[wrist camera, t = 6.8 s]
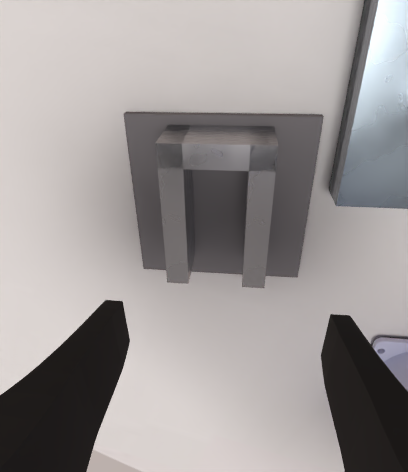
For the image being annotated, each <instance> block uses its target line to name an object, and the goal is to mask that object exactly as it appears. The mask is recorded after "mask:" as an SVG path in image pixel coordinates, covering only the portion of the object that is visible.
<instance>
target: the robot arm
mask: <svg viewBox="0 0 408 472" xmlns="http://www.w3.org/2000/svg"><path fill="white" fill-rule="evenodd" d="M129 342H130V339H129V334H128V328H127V323H126V318H125V312H124V307H123V302H122V301H111V300H106V301H105V302H103V303H102V304H101V305H100V306H99V307H98V308H97V310H96V311H95V312H94V313H93V314H92V315H91V316H90V317H89V318H88V319H87V320H86V321H85V322H84V323H83V324H82V325H81V326H80V327H79V328H78V329H77V330H76V331H75V332H74V333H73V334H72V335H71V336H70V337H69V338H68V339H67V340H66V341H65V342H64V343H63V344H62V345H61V346H60V347H59V348H58V349H56V350H55V351H54V352H53V353H52V354H51V355H50V356H49V357H48V358H46V359H45V360H44V361H43V362H42V363H41V364H40V365H39V366H37V367H36V368H35V369H34V370H33V371H31V372H30V373H29V374H28V375H27V376H25V377H24V378H23V379H21V380H20V381H19V382H18V383H16V384H15V385H14V386H12V387H11V388H10V389H8V390H7V391H6V392H4V393H3V394H1V395H0V472H86V471H87V467H88V464H89V460H90V457H91V453H92V450H93V446H94V443H95V440H96V437H97V434H98V431H99V428H100V426H101V423H102V421H103V418H104V416H105V413H106V411H107V408H108V405H109V403H110V400H111V398H112V395H113V393H114V390H115V388H116V385H117V382H118V380H119V377H120V375H121V372H122V369H123V366H124V362H125V359H126V355H127V351H128V347H129ZM321 360H322V368H323V376H324V384H325V388H326V393H327V397H328V401H329V405H330V409H331V413H332V417H333V421H334V426H335V430H336V434H337V438H338V442H339V446H340V450H341V454H342V459H343V464H344V469H345V472H408V339H398V338H384V337H382V338H377V339H376V340H375V341H374V343H373V346H371V345H370V343H369V342H368V340H367V339H366V338H365V336H364V335H363V333H362V332H361V331H360V329H359V328H358V326H357V325H356V323H355V322H354V321H353V319H352V318H351V317H350V316H348V315H333V314H331V315H330V319H329V323H328V327H327V332H326V336H325V340H324V345H323V349H322V353H321Z"/></svg>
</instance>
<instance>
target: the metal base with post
mask: <svg viewBox="0 0 408 472" xmlns="http://www.w3.org/2000/svg"><path fill="white" fill-rule="evenodd" d="M329 191H330V193H331V195H332V198H333V200H334V202H335V205H336V206H351V207H378V208H404V209H408V0H365V2H364V7H363V12H362V18H361V23H360V28H359V33H358V39H357V44H356V49H355V54H354V60H353V65H352V70H351V75H350V81H349V86H348V91H347V96H346V102H345V107H344V112H343V117H342V123H341V128H340V133H339V138H338V144H337V149H336V154H335V159H334V165H333V170H332V175H331V180H330V186H329Z"/></svg>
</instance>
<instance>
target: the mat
mask: <svg viewBox="0 0 408 472" xmlns="http://www.w3.org/2000/svg"><path fill="white" fill-rule="evenodd" d="M124 120H125V128H126V135H127V143H128V151H129V159H130V166H131V174H132V182H133V190H134V197H135V205H136V213H137V221H138V228H139V236H140V244H141V251H142V259H143V267H144V269H158V270H166V260H165V248H164V237H163V225H162V214H161V202H160V191H159V179H158V168H157V156H156V145H155V143H156V141H157V140H158V138H159V137H160V136H161V134H162V133H163V131H164V130H165V128H166V127H167V125H227V126H274V127H275V132H276V136H277V141H278V155H277V165H276V175H275V185H274V195H273V205H272V215H271V224H270V234H269V244H268V254H267V264H266V274H265V276H281V277H298V271H299V265H300V259H301V252H302V246H303V240H304V234H305V228H306V222H307V215H308V209H309V203H310V197H311V191H312V185H313V179H314V172H315V166H316V160H317V154H318V148H319V142H320V135H321V129H322V123H323V115H301V114H228V113H155V112H126V113H124ZM247 175H248V171H226V170H193V196H194V228H195V256H194V261H193V265H192V270H191V271H193V272H211V273H228V274H243V247H244V229H245V211H246V193H247Z"/></svg>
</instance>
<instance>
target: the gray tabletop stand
mask: <svg viewBox="0 0 408 472" xmlns="http://www.w3.org/2000/svg"><path fill="white" fill-rule="evenodd" d="M155 145H156V156H157V168H158V179H159V191H160V202H161V214H162V225H163V237H164V248H165V260H166V271H167V282H171V283H188V284H189V279H190V275H191V270H192V265H193V261H194V256H195V228H194V196H193V170H226V171H248V175H247V193H246V211H245V229H244V247H243V275H242V287H255V288H264V284H265V274H266V264H267V254H268V244H269V234H270V224H271V215H272V205H273V195H274V185H275V175H276V165H277V155H278V141H277V136H276V132H275V127H274V126H227V125H167V127H166V128H165V130H164V131H163V133H162V134H161V136H160V137H159V138H158V140H157V141H156V143H155Z"/></svg>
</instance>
